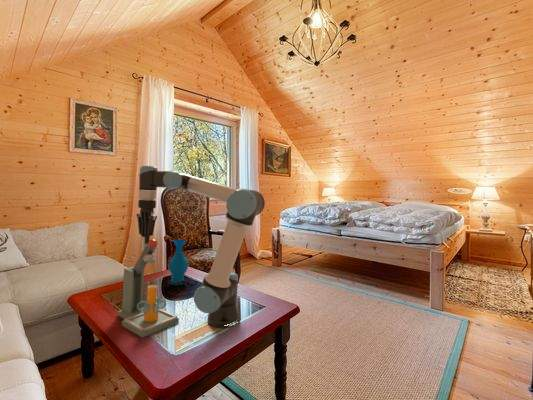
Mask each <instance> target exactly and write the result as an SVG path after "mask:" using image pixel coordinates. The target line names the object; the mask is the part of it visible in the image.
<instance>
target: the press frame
mask: <svg viewBox="0 0 533 400" xmlns="http://www.w3.org/2000/svg"><path fill="white" fill-rule="evenodd" d="M133 268H134V266H132V267H126V268H123V280H122V281H123V283H122V284H123V285H122V289H123V290H122V302H121V303H122V305H121V310H118V311H117V316H118V317H120V318H121V319H123V320H122V321H121V326H122V327H123V328H125V329H127V330H128V331H130V332H132V333H133V334H135V335H137V336H139V337H140V338H144V337H147V336H150V335H152V334H155V333H157V332H159V331H162V330H164V329H166V328H168V327H169V328H170V327H171V326H174V325H176V324H178V323H180V321H179V319H180V318H179V317H178V315H176V314H175V315H174V314H172V313H171V312H168V311H166V310H164V309H158V310H159V312H158V320H156V321H154V322H145V321H144V313H143V311H139V310H138V309H137V304H138V303H139V302H141V301H143V297H144V295H143V294H144V278H145V277H144V275H145V268H144V269H143V271H142V273H141V274H140V276H139V277H136V278H134V271H132V270H133ZM143 307H144V306H143V303H141V304H140V305H139V308H140V309H143Z"/></svg>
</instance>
